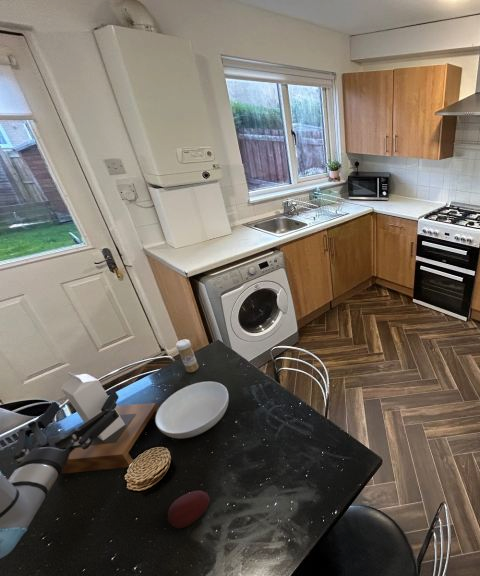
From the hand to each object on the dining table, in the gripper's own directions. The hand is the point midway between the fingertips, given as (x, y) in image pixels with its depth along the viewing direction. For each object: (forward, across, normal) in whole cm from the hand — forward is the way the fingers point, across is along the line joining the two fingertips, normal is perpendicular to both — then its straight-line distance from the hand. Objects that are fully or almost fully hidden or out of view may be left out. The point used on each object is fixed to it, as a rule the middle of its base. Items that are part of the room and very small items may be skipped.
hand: (86, 399), depth 86 cm
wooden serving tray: (+1, 0, -20) cm, 20 cm away
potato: (-29, +27, -20) cm, 44 cm away
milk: (+1, 0, -14) cm, 14 cm away
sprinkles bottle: (+29, +16, -20) cm, 39 cm away
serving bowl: (+3, +23, -20) cm, 30 cm away
